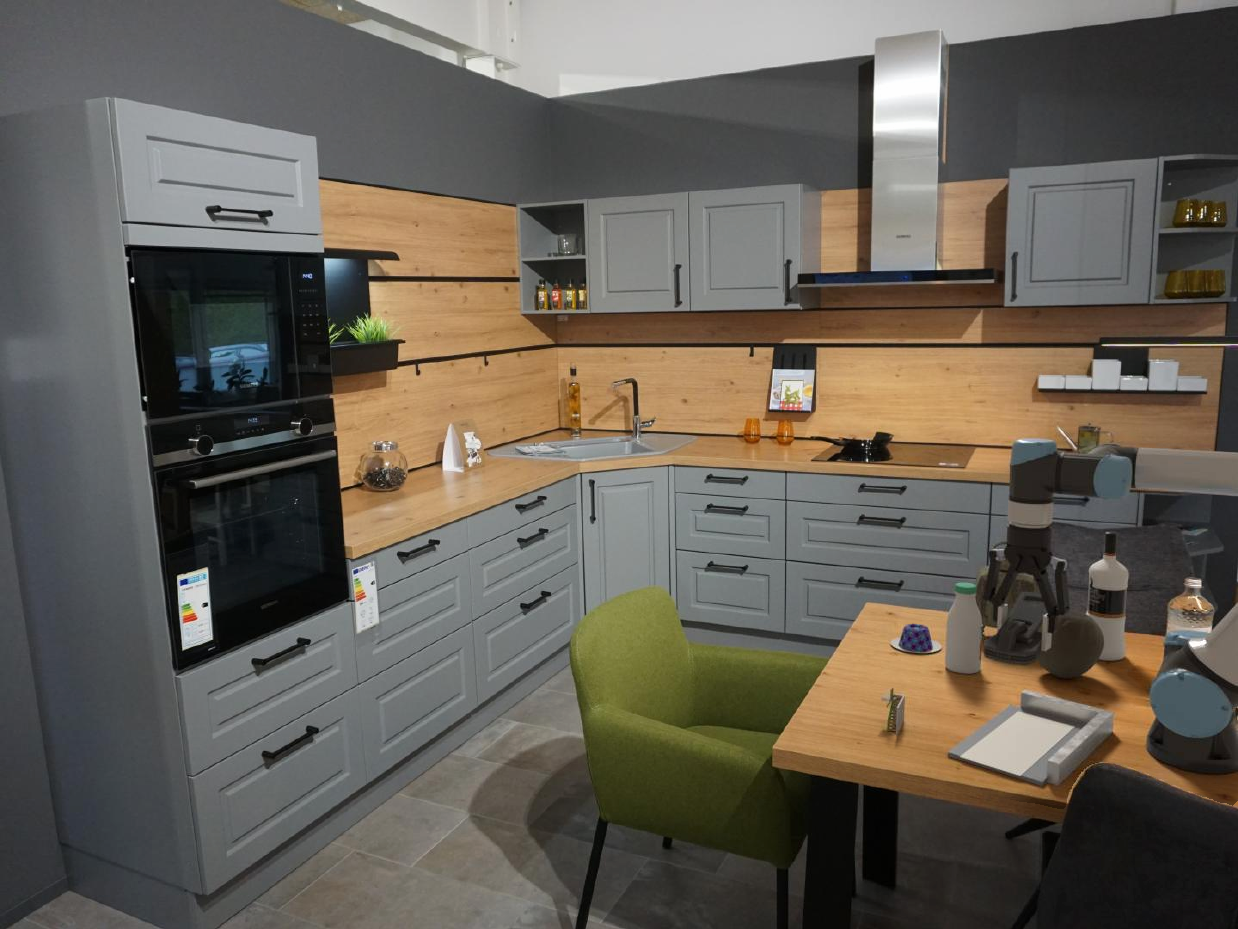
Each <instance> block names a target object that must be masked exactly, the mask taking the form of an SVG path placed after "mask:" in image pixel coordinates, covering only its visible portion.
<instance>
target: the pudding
mask: <svg viewBox="0 0 1238 929" xmlns="http://www.w3.org/2000/svg"><path fill="white" fill-rule="evenodd" d="M890 645H891V646H892V647H893V648H896V649H897V650H900V651H903V652H907V653H914V654H928V653H929V654H930V653H934V652H937V651H940V650H941V649H942V645H941V643H940V642H938V641H937V640H934V639H932V637H931V633H930V629H929V627H928V626H926V625H924V624H917V623H912V624H911V623H909V624H906V625H904V627H903V629H902V631H901V635H900V637H895V638H893V639H892V640H891V641H890Z"/></svg>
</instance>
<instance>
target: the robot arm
mask: <svg viewBox="0 0 1238 929" xmlns="http://www.w3.org/2000/svg"><path fill="white" fill-rule="evenodd" d="M1010 454H1011V455H1010V463H1009V465H1008V466H1009V491H1008V494H1009V495H1008V505H1007V506H1008V507H1007V521H1009V522H1008V524H1007V525H1006V541H1007V544H1005V547H1004V548H1003V549H1001V548H998V547H996V548H995V549H993V548H992V549H991V550H989V552H988V558H989V565H988V566H989V570H988V575H987V580H986V586H985V591H984V596H983V598H984V600H986V601H990V602H991V603H992V604H993V620H994V621H996V622H997V628H996V633H997V632H998V631H999V629H1000V628H1001V627H1002V625H1003V624H1004V623H1005V621H1006V620H1007V614H1008V604H1003V602H1005V601H1004V600H1005V598H1006V596H1007V594H1008V592H1009V590H1010V588H1011V586H1012V585H1013V583H1014V581H1015V579H1016V577H1017V575H1018V573H1026V574H1029V575H1033V577H1034V579H1035V581H1036V582H1037V586H1038V591H1039V593H1041V596H1042V599H1043V602H1042V603H1043V605H1045V608H1046V610H1047V614H1045V615H1044V616H1043V627H1042V645H1041V650H1042V651H1047V650H1048V649H1049V648H1051V638H1052V633H1055V632H1056V631H1057V628H1058V616H1059V615H1065V614H1066V613H1068V612H1069V611H1070V610H1071V606H1070V597H1069V596H1070V594H1069V585H1068V576H1067V574H1068V573H1067V570H1068V567H1069V564H1070V562H1069V559H1067V558H1063V559H1062V558H1059V557H1057V556H1056V557H1055V556H1054V555H1053V551H1052V548H1051V547H1052V535H1053V527H1052V526H1051V525H1050V524H1052V523H1053V516H1054V515H1053V514H1054V499H1055V498H1054V496H1055V494H1056V495H1067V496H1076V497H1087V498H1094V499H1095V498H1097V499H1102V500H1109V499H1110V500H1125V499H1126V498H1127V497H1129V495H1130V491H1131V489H1142V490H1143V489H1144V490H1158V491H1167V492H1169V491H1170V492H1178V493H1179V492H1181V493H1195V494H1204V495H1218V496H1220V495H1221V496H1231V497H1238V452H1232V451H1214V450H1213V451H1212V450H1197V449H1196V450H1193V449H1191V450H1190V449H1175V448H1157V447H1154V448H1153V447H1133V446H1122V445H1120V444H1117V443H1102V444H1100V445H1097V446H1095V447H1094V448H1092V449H1091V450H1090V451H1088V452H1087V453H1079V452H1078V453H1075V452H1073V453H1072V452H1064V451H1058V447H1057V442H1056V441H1055V440H1052V439H1048V438H1046V439H1044V438H1035V437H1034V438H1032V437H1031V438H1030V437H1028V438H1020V439H1017V440H1015V441H1014V442H1013V443H1012V445H1011V453H1010ZM1004 555H1005V557H1006V558H1007V560H1008V561H1009V563H1010V566H1009V568H1008V570H1007V572H1006V576H1005V578H1004V580H1003V582H1002V584H1001V586H1000V588H999V590H998V592H997V594H996V595H995V592H996V587H997V582H998V577H999V572H1000V567H1001V560H1003V559H1005V558H1004ZM1050 564H1051V565H1052V569H1053V570H1054V580H1055V581H1054V583H1055V591H1056V592H1055V594H1056V595H1055V594H1054V591H1053V588H1052V586H1051V583H1050V579H1049V573H1048V571H1047V567H1048V566H1049V565H1050ZM1054 596H1057V602H1056V599H1055V597H1054ZM1162 645H1163V647H1164V648H1163V658H1162V663H1161V665H1160V668H1159V669H1158V672H1157V674H1156V676H1155V678H1154V680H1152V682H1151V683H1150V684H1151V686H1150V687H1149V704H1150V708H1151V710H1152V712H1153V714H1154V716H1155V718H1154V719H1153V721H1152V724H1151V726H1150V728H1149V730H1148V732H1147V735H1146V746H1145V747H1146V750H1147V751H1148V753H1149V754H1150V755H1152V757H1153V758H1155V759H1157V760H1159V761H1161V762H1162V763H1165V764H1167V765H1169V766H1172V767H1175V768H1178V769H1181V770H1186V771H1189V772H1195V773H1200V774H1208V775H1210V774H1211V775H1224V774H1226V775H1227V774H1232V773H1235V772H1237V771H1238V730H1237V727H1236V724H1235V717H1236V709H1237V708H1238V602H1237V603H1236V604H1235V605H1234V606H1233V607H1232V608H1231V609H1230V610H1229V611H1228V613H1227V614H1226V615H1225V616H1224V617H1223V618H1222V619H1221V620H1220V621H1219V623H1217V624H1216V625H1215V627H1213V629H1212V630H1211V631H1210V632H1206V631H1205V632H1204V631H1197V630H1187V629H1177V630H1171V631H1169V632H1167V633H1166V634H1165V638H1164V642H1163V644H1162Z"/></svg>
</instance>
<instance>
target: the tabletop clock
mask: <svg viewBox="0 0 1238 929" xmlns="http://www.w3.org/2000/svg"><path fill="white" fill-rule="evenodd" d="M1002 545H1007V540H1006V541H1000V542H997V543H996V544H995V545H994V546H993V548H992V550H993V549H995V548H998V547H999V546H1002ZM1009 566H1010V563H1009V561H1008V560H1007V558H1006V557H1005V555H1004V558H1003V560H1001V567H1000V572H999V577H998V582H997V587H996V592H995V595H996V594H997V592H998V590H999V588H1000V586H1001V584H1002V582H1003V580H1004V578H1005V576H1006V572H1007V570H1008V568H1009ZM988 570H989V565H985V566H982V567H979V569H978V571H977V573H976V577H975V580H974V581H975V582H974V585H976V587H977V591H976V595H975V600H976V604H977V607H978V609H979V611H980V614H981V618H982V634H983V633H985V628H986V627H988V628H992V629H993V628H994V629H997V622H996V621H994V620H993V604H992V603H991V602H990V601H986V600H984V598H983V596H984V591H985V586H986V580H987V575H988ZM1022 592H1033V593H1039V587H1038V585H1037V582H1036V581H1035V579H1034V577H1033V575H1029V574H1026V573H1018V575H1017V577H1016V579H1015V581H1014V583H1013V585H1012V586H1011V588H1010V590H1009V592H1008V594H1007V596H1006V598H1005V600H1004V601H1005V602H1003V604H1008V614H1007V618H1008V617H1009V615H1010V613H1011V611H1012V610H1013V608H1014V606H1015V604H1016V602H1017V600H1018V598H1019V597H1020V595H1021V593H1022ZM1025 602H1031V603H1037V604H1040V602H1037V601H1028V600H1025ZM1030 627H1031V626H1028V625H1026V629H1029V628H1030Z"/></svg>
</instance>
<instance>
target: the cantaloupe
mask: <svg viewBox="0 0 1238 929" xmlns="http://www.w3.org/2000/svg"><path fill="white" fill-rule="evenodd" d="M1042 627H1043V624H1042V625H1041V626H1040V627H1039V629H1038V630H1037V631H1038V632H1040V633H1042ZM1103 648H1104V636H1103V633H1102V630H1101V628H1100V627H1099V626H1098V624H1097V623H1096V622H1095V621H1094V620H1093V619H1092V618H1091V617H1090V616H1089V615H1086V613H1084V612H1082V611H1077V610H1074V609H1070V611H1069V612H1068V613H1066V614H1065V615H1059V616H1058V628H1057V631H1056V632H1055V633H1052V638H1051V648H1049V649H1048V650H1047V651H1041V653H1040V655H1039V656H1038V658H1037V660H1036V662H1037V663H1038V664H1039V665H1040V667H1041V668H1043V670H1045V671H1047V673H1050V674H1052V675H1054V676H1056V677H1057V678H1058V679H1059V678H1060V679H1067V680H1068V679H1072V678H1077V677H1080V676H1082V675H1084V674H1086V673H1087V672H1089V670H1091V669H1092V668H1093V667H1094V666H1095V665H1096V663H1097V662H1098V661H1099V660H1098V659H1099V657H1100V656H1101V653H1102V651H1103Z"/></svg>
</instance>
